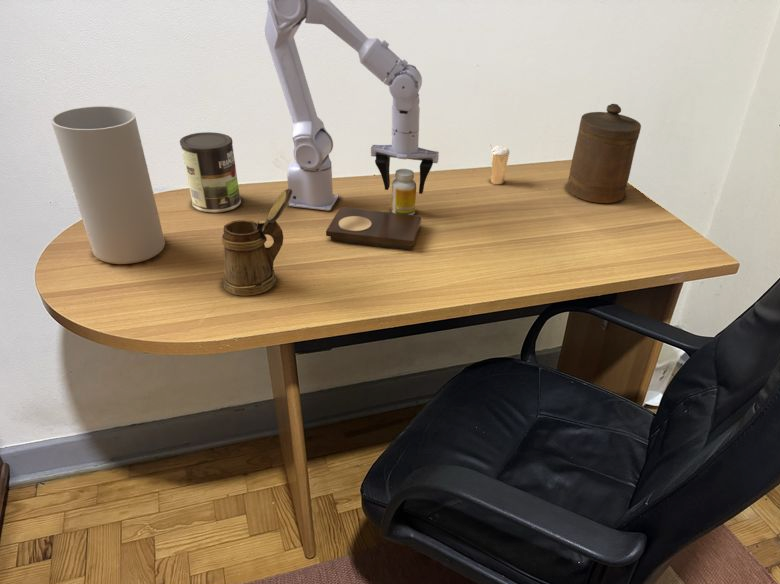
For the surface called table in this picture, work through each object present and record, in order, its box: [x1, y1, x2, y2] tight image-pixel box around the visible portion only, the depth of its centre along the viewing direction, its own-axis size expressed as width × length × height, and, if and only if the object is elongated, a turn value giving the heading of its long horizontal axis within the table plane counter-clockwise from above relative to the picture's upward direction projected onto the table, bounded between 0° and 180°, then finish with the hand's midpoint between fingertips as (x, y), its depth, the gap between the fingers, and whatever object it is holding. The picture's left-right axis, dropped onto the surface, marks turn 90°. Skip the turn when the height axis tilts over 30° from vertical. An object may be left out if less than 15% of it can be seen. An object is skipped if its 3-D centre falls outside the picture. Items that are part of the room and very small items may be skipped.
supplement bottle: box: [391, 168, 417, 215], centre depth 140 cm, size 5×5×10 cm
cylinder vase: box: [50, 105, 166, 265], centre depth 112 cm, size 12×12×25 cm
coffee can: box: [179, 131, 242, 213], centre depth 135 cm, size 10×10×14 cm
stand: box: [325, 206, 423, 251], centre depth 133 cm, size 18×12×3 cm, turn 85°
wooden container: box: [566, 103, 642, 204], centre depth 155 cm, size 15×15×22 cm
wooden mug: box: [221, 188, 293, 297], centre depth 109 cm, size 9×14×18 cm, turn 103°
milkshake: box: [489, 144, 510, 185], centre depth 159 cm, size 5×5×10 cm
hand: (404, 190), depth 140 cm, fingers open, 7 cm apart
